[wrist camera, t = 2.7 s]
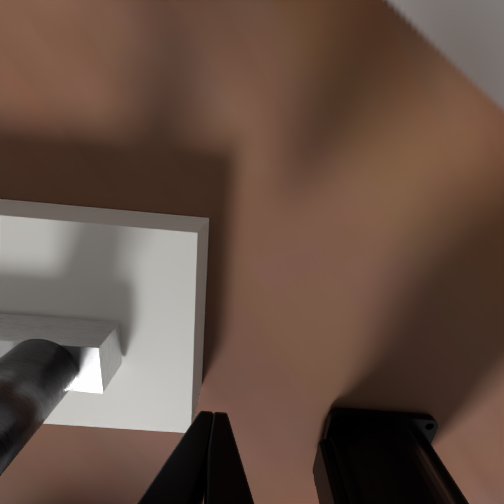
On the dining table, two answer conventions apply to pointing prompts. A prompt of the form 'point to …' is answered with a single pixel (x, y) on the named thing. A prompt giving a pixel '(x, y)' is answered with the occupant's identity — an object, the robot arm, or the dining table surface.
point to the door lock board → (115, 302)
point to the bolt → (48, 370)
